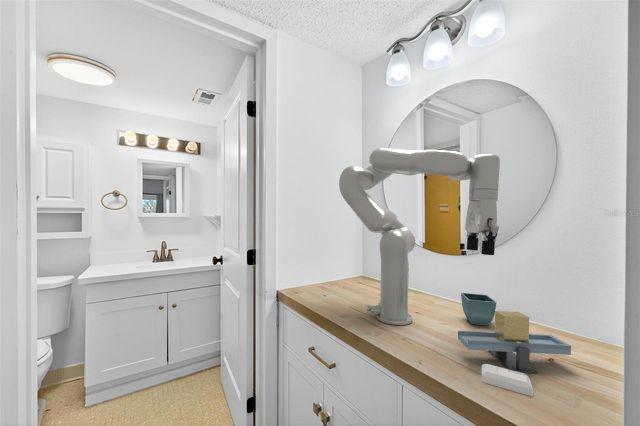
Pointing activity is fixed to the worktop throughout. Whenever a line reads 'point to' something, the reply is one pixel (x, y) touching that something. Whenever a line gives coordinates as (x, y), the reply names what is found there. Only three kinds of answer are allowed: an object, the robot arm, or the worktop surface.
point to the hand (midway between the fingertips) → (479, 252)
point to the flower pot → (478, 308)
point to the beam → (513, 343)
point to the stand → (515, 360)
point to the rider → (511, 326)
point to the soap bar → (507, 379)
